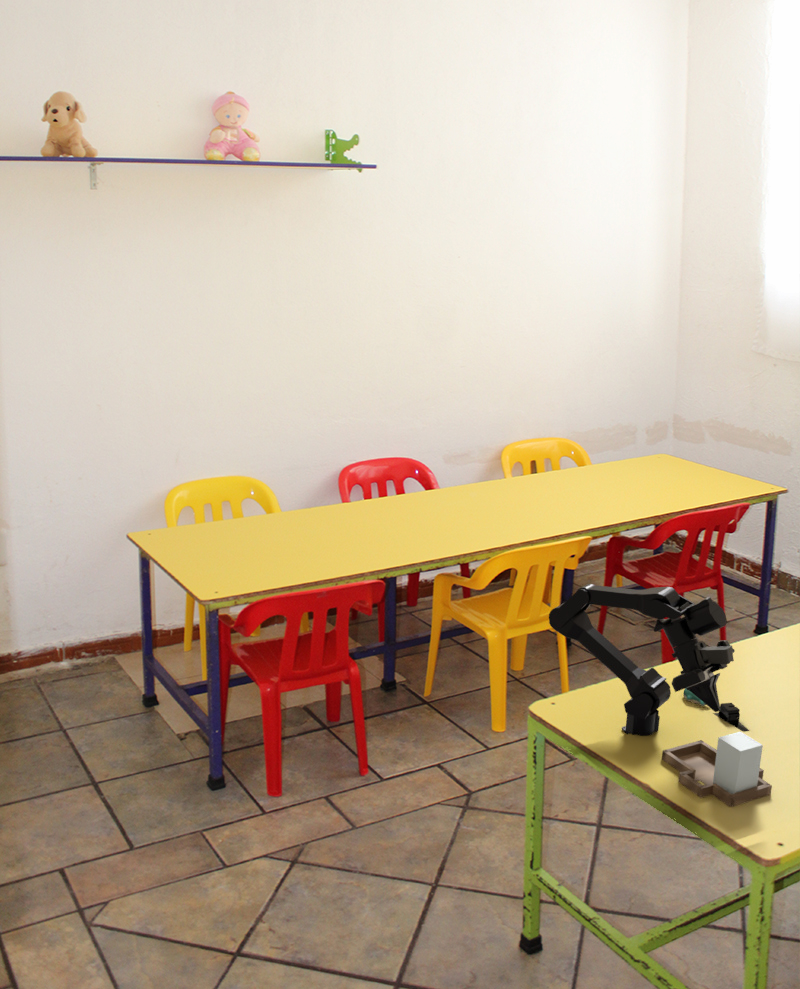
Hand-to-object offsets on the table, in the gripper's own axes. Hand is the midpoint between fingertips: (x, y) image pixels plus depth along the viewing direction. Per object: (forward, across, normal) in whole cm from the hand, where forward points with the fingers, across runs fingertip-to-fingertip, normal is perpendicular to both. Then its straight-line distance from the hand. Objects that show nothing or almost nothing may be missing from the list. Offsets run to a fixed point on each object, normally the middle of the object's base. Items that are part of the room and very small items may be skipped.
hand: (717, 711), depth 209 cm
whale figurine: (-1, +29, +16) cm, 33 cm away
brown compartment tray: (+12, -4, +6) cm, 14 cm away
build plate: (+6, +23, +9) cm, 26 cm away
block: (+15, -7, +1) cm, 16 cm away
